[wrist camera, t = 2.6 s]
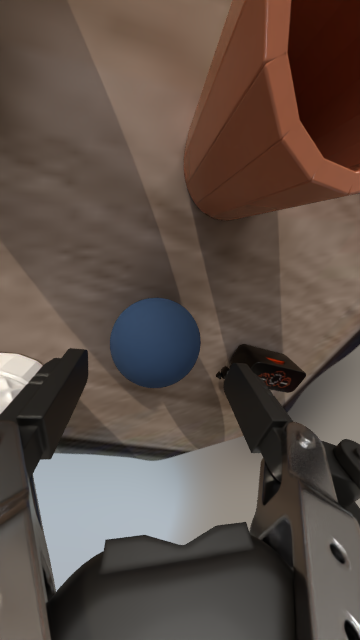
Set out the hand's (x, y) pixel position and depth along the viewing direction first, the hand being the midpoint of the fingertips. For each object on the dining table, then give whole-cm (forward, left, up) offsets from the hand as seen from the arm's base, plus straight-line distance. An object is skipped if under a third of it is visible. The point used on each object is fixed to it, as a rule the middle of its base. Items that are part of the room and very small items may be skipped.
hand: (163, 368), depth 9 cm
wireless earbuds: (+11, -4, -7) cm, 13 cm away
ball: (0, 0, -3) cm, 3 cm away
